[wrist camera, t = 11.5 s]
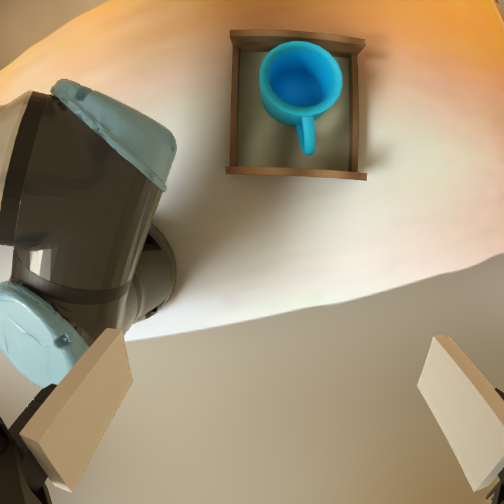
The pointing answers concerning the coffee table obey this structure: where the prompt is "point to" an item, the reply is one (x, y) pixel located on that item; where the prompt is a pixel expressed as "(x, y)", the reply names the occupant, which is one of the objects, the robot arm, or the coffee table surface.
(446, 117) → the coffee table surface
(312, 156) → the tray
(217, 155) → the coffee table surface
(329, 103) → the mug
